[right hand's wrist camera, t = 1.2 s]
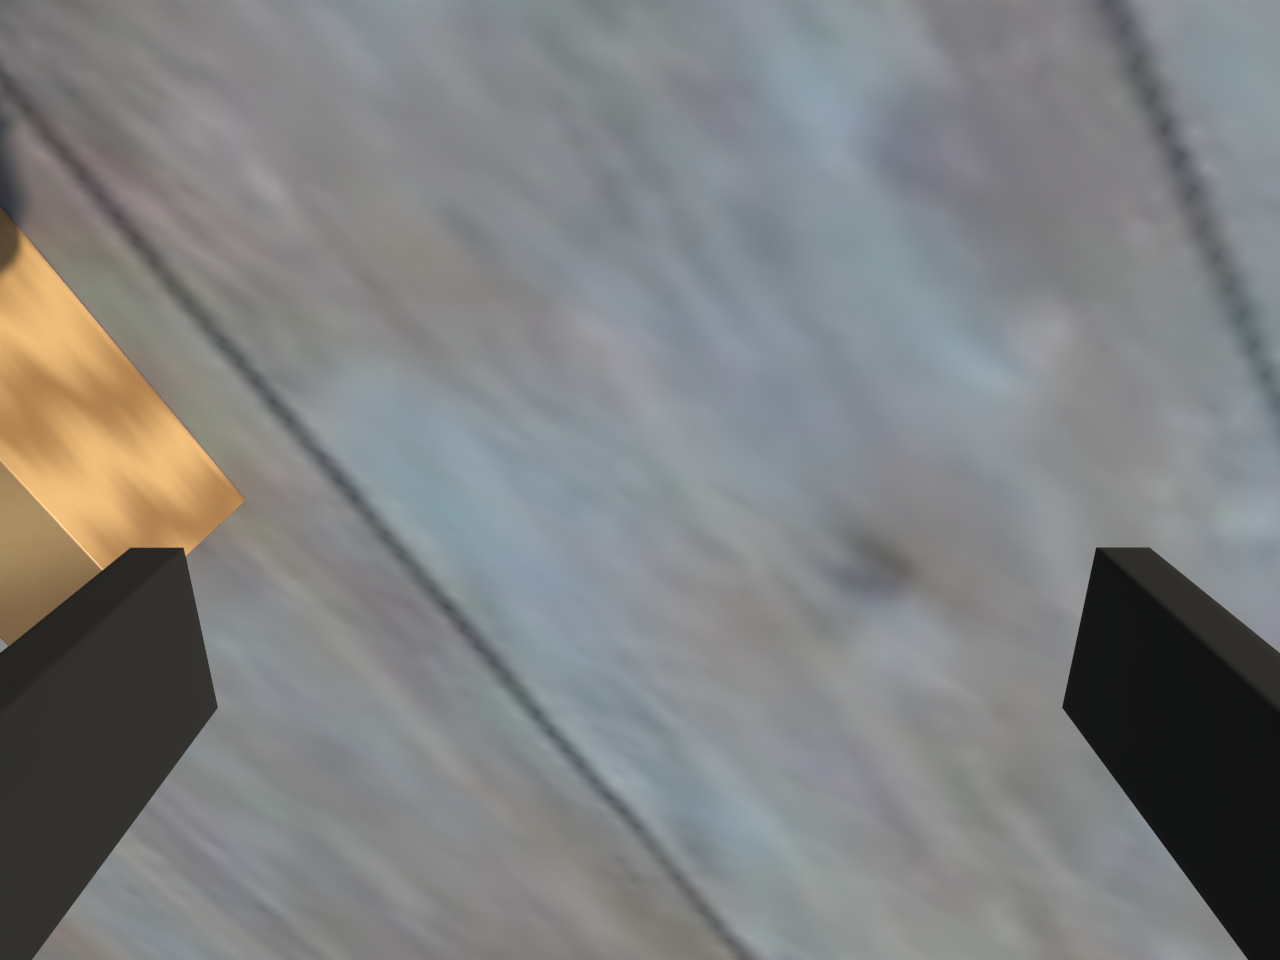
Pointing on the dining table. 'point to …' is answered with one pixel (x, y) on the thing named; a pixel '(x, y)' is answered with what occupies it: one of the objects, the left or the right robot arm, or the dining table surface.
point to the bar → (82, 448)
